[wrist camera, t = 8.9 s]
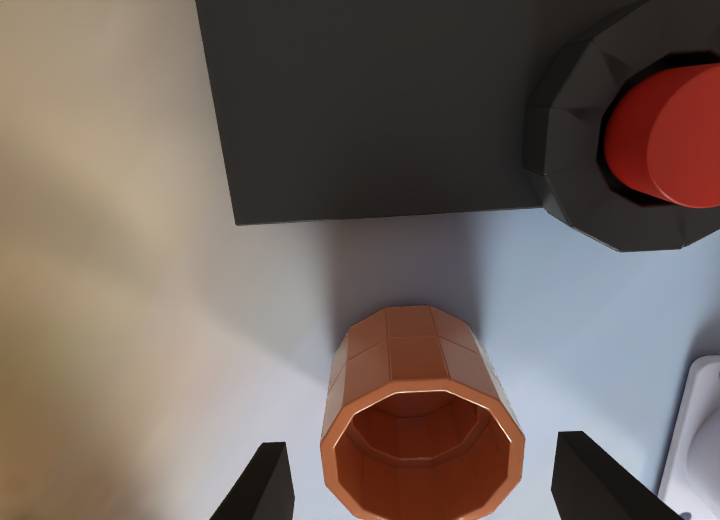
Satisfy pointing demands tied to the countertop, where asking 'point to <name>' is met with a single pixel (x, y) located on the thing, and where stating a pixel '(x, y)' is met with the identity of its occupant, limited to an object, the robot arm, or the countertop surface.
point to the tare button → (669, 136)
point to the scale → (445, 108)
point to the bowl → (418, 421)
